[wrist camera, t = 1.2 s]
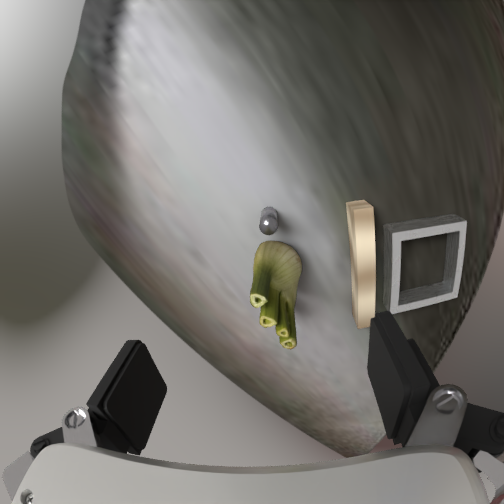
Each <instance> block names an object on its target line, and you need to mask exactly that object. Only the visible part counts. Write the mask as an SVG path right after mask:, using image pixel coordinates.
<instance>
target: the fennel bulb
mask: <svg viewBox="0 0 504 504" xmlns="http://www.w3.org/2000/svg"><path fill="white" fill-rule="evenodd" d="M301 272H302V263H301V259H300V257H299V255H298V254H297V252H296V251H295V250H294V249H293V248H292V247H291V246H289V245H287V244H285V243H283V242H279V241H266V242H263V243H261V244H260V246H259V248H258V249H257V251H256V254H255V258H254V266H253V273H254V276H253V283H252V288H251V291H250V303H251V305H252V306H253V307H255V308H258V307H260V306H261V313H260V325H262V326H263V327H264V328H267V327H271V326H273V325H276V333H277V335H278V336H280V337H279V339H280V344H281V345H282V346H283V347H284V348H287V349H293V348H294V347H296V345H297V339H296V327H295V315H294V307H295V302H296V296H297V287H298V281H299V278H300V275H301Z"/></svg>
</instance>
